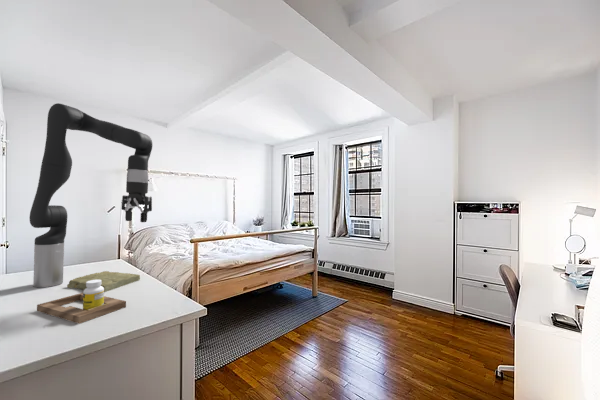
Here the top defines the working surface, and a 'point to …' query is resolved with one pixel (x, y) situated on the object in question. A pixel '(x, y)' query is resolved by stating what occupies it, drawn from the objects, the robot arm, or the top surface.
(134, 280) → the decorative tile
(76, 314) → the keyhole board
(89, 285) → the supplement bottle
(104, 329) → the top surface
